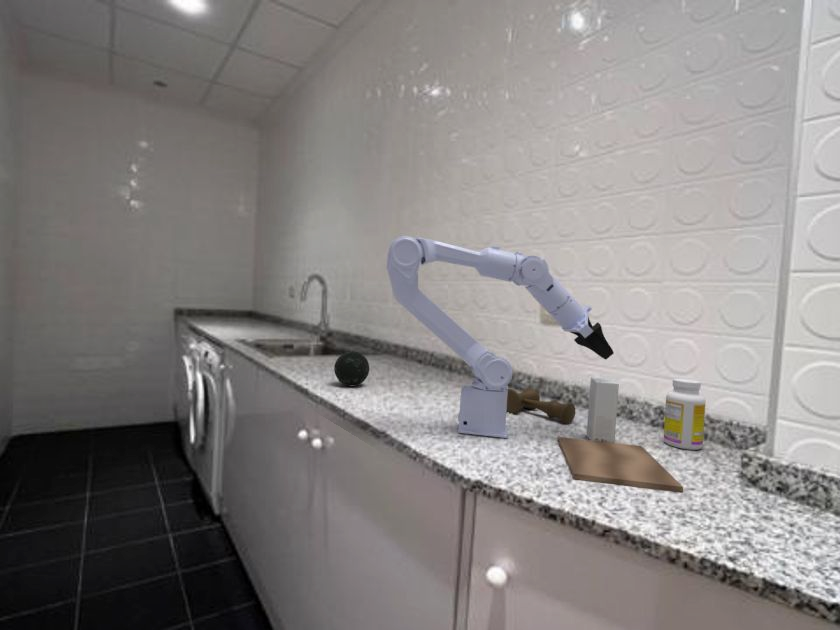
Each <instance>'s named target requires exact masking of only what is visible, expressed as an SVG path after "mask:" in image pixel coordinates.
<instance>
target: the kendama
mask: <svg viewBox="0 0 840 630" xmlns="http://www.w3.org/2000/svg"><path fill="white" fill-rule="evenodd" d="M521 407H522V408H524V407H525V409H526V408H528V409H527V410H531V409H534V410H536V409H537V410H539V411H541V412H543V413H545V414H546V415H547V417H548V418H549V419H554V418H555V419H558V420H560V421H561V422H562V423H563V424H565V425H569V423H570V424H572V422H573V421H574V420H575V416H576V406H575V404H574V403H573V402H570V401H568V402H566V403H561V402H559V401H558V400H557V399H552V400H550V401H543V400H541V397H540V394H539V392H538V391H537V390H536V389H535V388H533V387H526V388H523V389H522V390H521V392H519V393H518V391H517V390H515V389H513V388H508V395H507V411H506V413H507V412H509V413H508V414H511V413H513V414H512V415H515V414H517V413H518V412H519V411H520V409H521Z"/></svg>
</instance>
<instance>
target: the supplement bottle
mask: <svg viewBox="0 0 840 630" xmlns="http://www.w3.org/2000/svg"><path fill="white" fill-rule="evenodd" d="M701 384H702V382H700V381H698V380H695V379H686V378H673V379H672V386H673V390H670V391H669V392H667V394H666V396H665V406H664V407H665V410H664V425H663V441H664V443H665V444H666V445H669V446H671V447H674V448H677V449H678V448H679V449H682V450H688V451H689V450H691V451H697V450H700V449H702V448H703V443H704V432H705V431H704V430H705V415H706V399H705V397H704V396H703V395H702V394H700V390H701Z"/></svg>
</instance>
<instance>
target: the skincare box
mask: <svg viewBox="0 0 840 630" xmlns="http://www.w3.org/2000/svg"><path fill="white" fill-rule="evenodd" d="M588 400H589V401H588V409H587V410H588V411H587V412H588V414H587V423H586V436H587V437H588V440H591V441H601V442H610V443H616V440H615V439H616V430H617V429H616V428H617V415H618V414H617V413H618V400H619V383H618V382H616V381H615V380H613V379H611V378H601V377H590V385H589V396H588Z"/></svg>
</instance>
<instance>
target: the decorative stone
mask: <svg viewBox="0 0 840 630" xmlns="http://www.w3.org/2000/svg"><path fill="white" fill-rule="evenodd" d="M333 367H334V371H333V372H334V375H335V377H336V379H337V380H338V382H339V383H341V384H343V385H345V386H348V385H356V386H359V385H360V384H362V383H363V382H365V381H366V379H367V378H368V376H369V373H370V363H369V360H368V359H367V357H366V356H365V355H364V354H362V353H361V352H359V351H355V350H351V351H350V350H349V351H346V352H343V353H342V354H340V355H339V356H338V358H337V359H336V361H335V363H334V366H333Z"/></svg>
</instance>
